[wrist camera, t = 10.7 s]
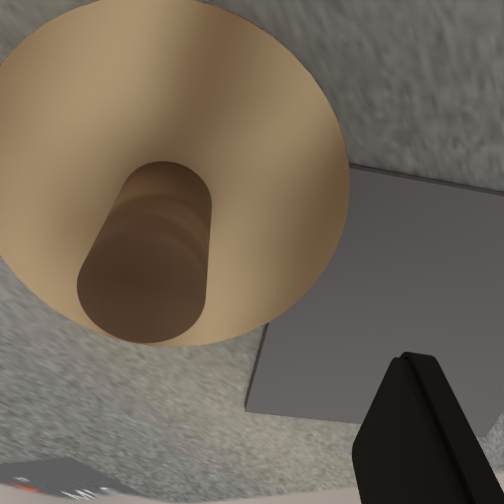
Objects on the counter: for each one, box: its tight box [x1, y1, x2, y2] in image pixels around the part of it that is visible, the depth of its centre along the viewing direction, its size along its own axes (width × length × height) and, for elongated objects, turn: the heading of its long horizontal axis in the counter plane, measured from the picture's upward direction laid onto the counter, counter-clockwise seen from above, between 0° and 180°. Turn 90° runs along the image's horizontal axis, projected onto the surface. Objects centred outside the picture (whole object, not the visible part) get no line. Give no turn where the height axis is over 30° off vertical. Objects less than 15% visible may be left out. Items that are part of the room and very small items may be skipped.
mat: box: [245, 164, 504, 437], centre depth 26 cm, size 16×16×1 cm
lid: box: [0, 0, 350, 347], centre depth 15 cm, size 13×13×6 cm
